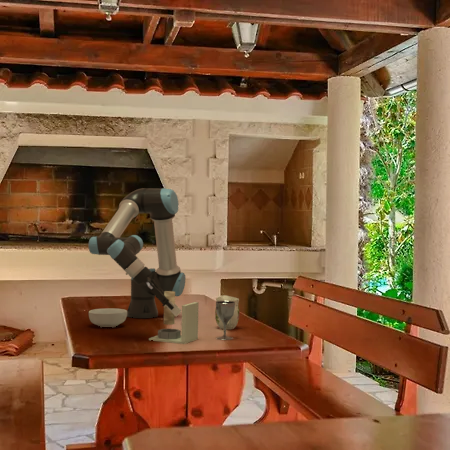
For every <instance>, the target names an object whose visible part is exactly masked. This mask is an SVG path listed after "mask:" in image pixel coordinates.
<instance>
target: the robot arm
mask: <svg viewBox="0 0 450 450" xmlns="http://www.w3.org/2000/svg"><path fill="white" fill-rule="evenodd" d="M118 204H119V205H118V210H117V211H116V212H115V214H114V215H113V216H112V218H111V219H110V220H109V222H108V223H107V225H106V226H105V228H104V229H103V231H101V233H100V234H99V236H91V237H90V238H89V241H88V244H87V245H88V251H89V253H90V254H92V255H99V256H101V255H103V256H110V258H111V259H112V260H114V262H116V264H117V265H118V266H119V267H120V268H122V270H123V271H124V272H125V275H126V276H127V275H128V276H129V277H130V302H129V303H128V304H129V305H128V306H127V307H128V308H127V309H126V310H127V317H128V318H132V317H133V318H132V319H152V318H153V317H154V318H157V317H159V311H158V307H157V304H156V300H155V297H156V298H157V300H158V301H159V302H160V303H161V304H162V307H164V306H166V307H167V308H168V309H169V310H170V311H171V312H172V313H173V314H174V315H175V318H177V316H179V315H180V314H182V308H180V307H179V306H178V305H177V304H176V303H175V305H174V304H173V303H172V302H171V301H169V299H167V298H166V297H165V295H164V292H165V291H174V292H175V297H180V296H181V295H182V294H183V292H184V291H185V290H184V289H185V286H186V278H187V277H186V274H185V273H184V272H182V271H181V267H180V266H179V265H178V263H177V253H176V244H175V235H174V234H175V232H174V225H173V224H174V223H173V219H174V218H175V217H176V214H178V211H179V204H180V203H179V198H178V195H177V193H176V191H175V190H173V189H171V188H164V187H163V188H161V187H160V188H157V187H156V188H152V187H151V188H146V187H144V188H143V187H142V188H138V189H136V190H134V191H132V192H129V193H128V194H127V195H126V196H124V198H123V199H122V200H121V201H120V203H118ZM139 214H149V217H150V218H149V219H150V220H152V221H153V222H154V223H153V225H154V234H155V235H154V236H155V242H156V250H157V251H156V252H157V253H156V254H157V261H158V267H157V269H156V268H154V267H153V268H152V267H151V268H150V267H149V268H148V267H147V266H145V263H144V262H143V261H142V260H141V259H140V258H139V257H138V256H137V255H138V254H139V253H140V252H141V250H142V249H143V247H144V242H143V239H142V238H141V237H140V236H139V235H136V234H132V235H129V236H128V237H122V234H123V233H124V231H125V230H126V229H127V227H128V226H129V224H130V223H131V221H132V220H133V219H134V218H136V217H137V216H138V215H139Z"/></svg>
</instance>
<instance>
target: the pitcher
mask: <svg viewBox="0 0 450 450" xmlns="http://www.w3.org/2000/svg"><path fill="white" fill-rule="evenodd" d="M216 301H233V302H235V311H234V315H233V317H232V318H231V319H230V320H229V321H228V323H227V326H226V331H227V330H234V329H235V328H236V327H237V326H238V322H239V319H240V307H239V301H240V299H239V297H238V298H237V297H234V296H229V295H227V294H226V295H225V294H223V295H221V296H218V297H216V298H215V302H216ZM214 319H215V322H216V325H217V327H218V328H219V329H220V330H224V325H223V322H222V321H221V320H220V318H219V317H218V316H217V312H216V308H214Z"/></svg>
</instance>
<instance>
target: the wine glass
mask: <svg viewBox="0 0 450 450" xmlns="http://www.w3.org/2000/svg"><path fill="white" fill-rule="evenodd" d="M215 309H216V312H217V316H218V317H219V318H220V320H221V321H222V322H223V325H224V329H223V335H222V336H217V337H215V339H216V340H221V341H232V340H234V337H231V336H228V335H227V330H226V326H227V323H228V321H229V320H230V319H231V318H232V317H233V315H234V311H235V302H233V301H216V300H215Z"/></svg>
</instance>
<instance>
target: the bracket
mask: <svg viewBox="0 0 450 450" xmlns="http://www.w3.org/2000/svg"><path fill="white" fill-rule="evenodd" d="M199 304H200V303H199V302H198V301H194V302H190V303H187V304H183V305H181V329H178V328H161V329H158V330H157V335H155V336H151V337H149V338H148V341H151V340H153V341H154V342H160V343H161V342H162V343H163V342H164V343H173V344H180V345H181V344H182V345H186V344H188V343H191V342H194V341H196V340H199ZM153 341H152V342H153Z"/></svg>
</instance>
